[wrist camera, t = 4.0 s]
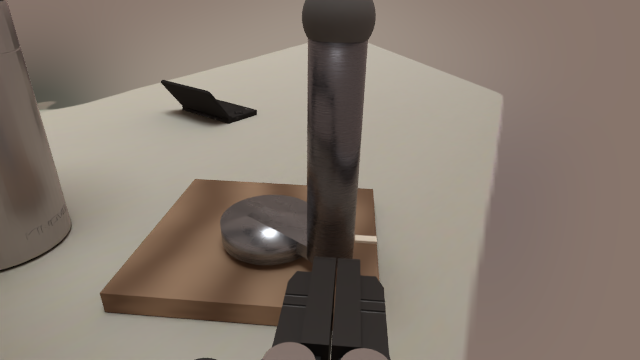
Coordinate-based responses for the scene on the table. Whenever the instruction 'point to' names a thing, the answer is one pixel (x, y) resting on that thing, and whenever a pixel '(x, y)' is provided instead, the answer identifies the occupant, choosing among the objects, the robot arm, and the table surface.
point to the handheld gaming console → (207, 103)
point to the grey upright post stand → (316, 149)
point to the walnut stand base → (218, 260)
